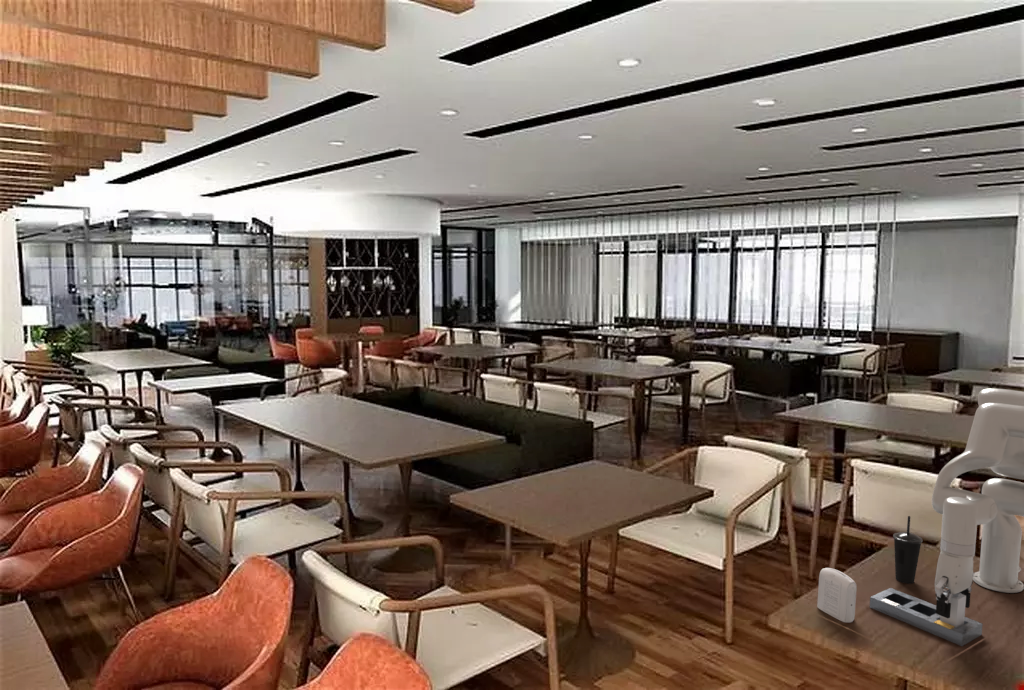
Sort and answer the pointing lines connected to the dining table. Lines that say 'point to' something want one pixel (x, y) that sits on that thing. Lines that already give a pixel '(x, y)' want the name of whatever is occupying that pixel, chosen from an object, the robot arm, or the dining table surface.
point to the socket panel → (923, 616)
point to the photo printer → (837, 594)
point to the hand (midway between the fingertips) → (952, 610)
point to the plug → (956, 610)
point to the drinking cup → (906, 555)
